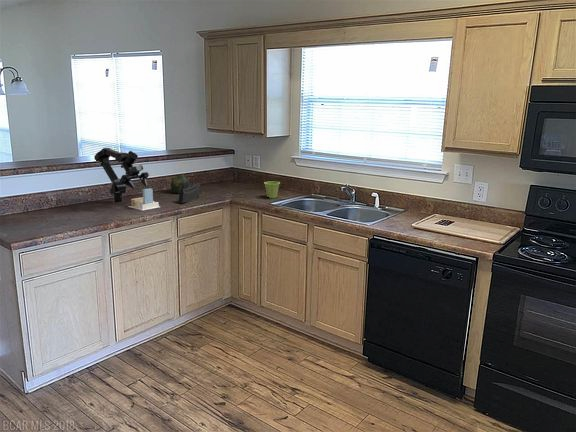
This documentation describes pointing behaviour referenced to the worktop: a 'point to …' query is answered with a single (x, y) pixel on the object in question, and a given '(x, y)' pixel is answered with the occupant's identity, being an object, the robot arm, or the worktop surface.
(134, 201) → the offcut stack
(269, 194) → the plant pot
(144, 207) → the rack
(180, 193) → the magazine
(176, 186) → the squash
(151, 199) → the blue rectangular block
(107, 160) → the robot arm
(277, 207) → the worktop surface
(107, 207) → the worktop surface
